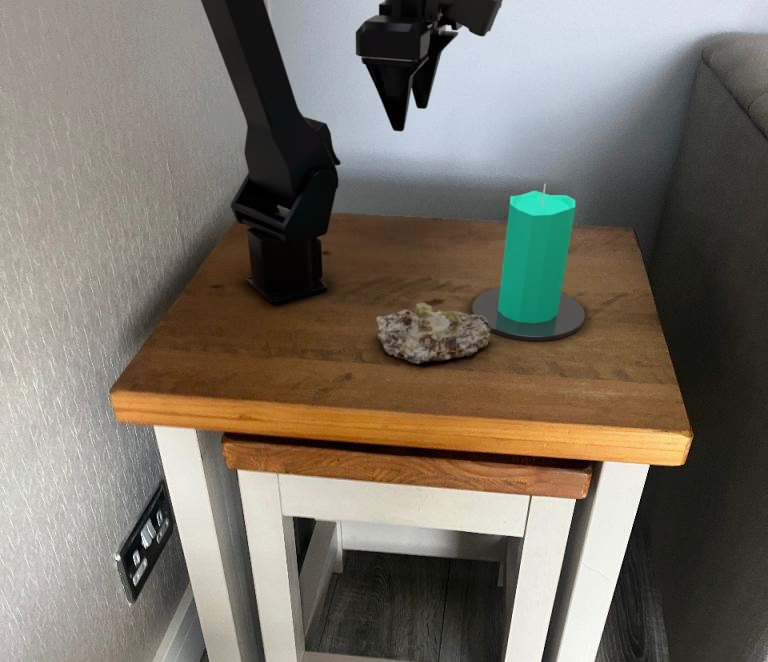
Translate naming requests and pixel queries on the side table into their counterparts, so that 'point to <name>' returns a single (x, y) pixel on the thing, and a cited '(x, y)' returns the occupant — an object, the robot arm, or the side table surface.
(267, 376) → the side table surface
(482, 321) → the mineral rock
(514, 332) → the slate coaster
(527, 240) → the candle
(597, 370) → the side table surface
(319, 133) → the robot arm
